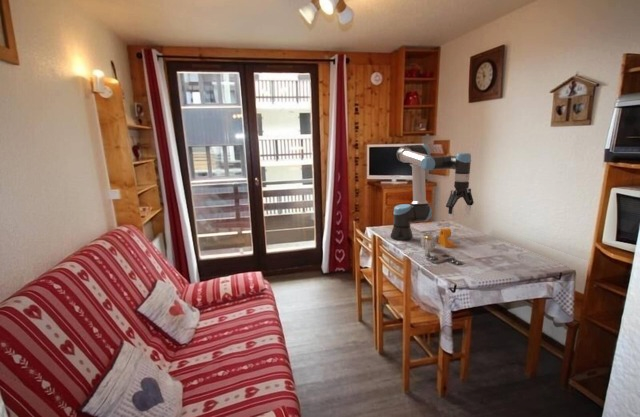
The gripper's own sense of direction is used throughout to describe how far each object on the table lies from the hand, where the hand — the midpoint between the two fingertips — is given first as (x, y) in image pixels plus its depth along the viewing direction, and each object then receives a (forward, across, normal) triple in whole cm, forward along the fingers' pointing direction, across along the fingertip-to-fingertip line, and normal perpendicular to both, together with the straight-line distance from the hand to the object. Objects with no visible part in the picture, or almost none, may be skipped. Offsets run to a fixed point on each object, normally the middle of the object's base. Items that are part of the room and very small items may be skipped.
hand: (459, 217), depth 185 cm
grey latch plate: (+24, -10, -5) cm, 26 cm away
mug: (+24, -6, +17) cm, 30 cm away
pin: (+24, -16, +7) cm, 29 cm away
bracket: (+24, +10, +15) cm, 30 cm away
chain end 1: (+22, -14, -1) cm, 27 cm away
